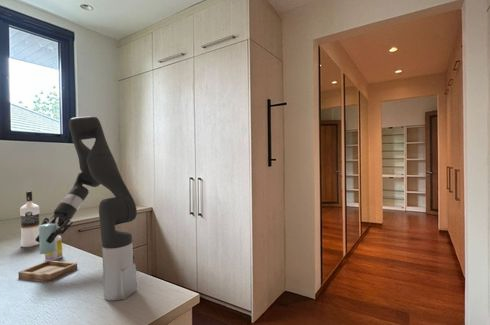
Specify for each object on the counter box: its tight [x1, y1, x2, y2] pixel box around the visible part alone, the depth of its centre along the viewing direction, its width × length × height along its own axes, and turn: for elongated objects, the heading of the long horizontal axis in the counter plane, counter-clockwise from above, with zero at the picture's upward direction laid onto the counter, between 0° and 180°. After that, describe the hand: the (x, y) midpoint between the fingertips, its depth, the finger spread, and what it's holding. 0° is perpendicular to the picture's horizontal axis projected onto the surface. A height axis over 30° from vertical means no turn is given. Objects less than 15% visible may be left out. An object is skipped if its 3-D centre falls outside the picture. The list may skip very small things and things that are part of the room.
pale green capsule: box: [39, 223, 56, 255], centre depth 105 cm, size 5×5×11 cm
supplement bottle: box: [44, 235, 63, 261], centre depth 122 cm, size 7×7×13 cm
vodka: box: [19, 190, 41, 248], centre depth 143 cm, size 9×9×30 cm
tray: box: [18, 260, 78, 283], centre depth 106 cm, size 16×12×2 cm
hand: (43, 241), depth 104 cm, fingers closed on pale green capsule, 5 cm apart
